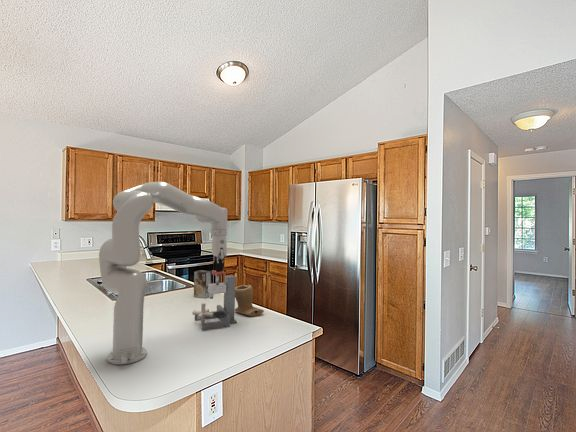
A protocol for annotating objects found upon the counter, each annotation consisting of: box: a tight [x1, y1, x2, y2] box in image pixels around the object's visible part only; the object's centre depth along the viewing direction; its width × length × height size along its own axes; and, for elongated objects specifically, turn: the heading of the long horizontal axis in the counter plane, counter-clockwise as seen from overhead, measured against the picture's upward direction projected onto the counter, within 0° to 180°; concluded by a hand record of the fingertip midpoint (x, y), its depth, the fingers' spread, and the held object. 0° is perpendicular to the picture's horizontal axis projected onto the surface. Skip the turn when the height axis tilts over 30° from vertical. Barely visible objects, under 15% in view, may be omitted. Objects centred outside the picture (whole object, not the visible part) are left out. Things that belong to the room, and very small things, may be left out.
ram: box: [208, 269, 226, 300], centre depth 149 cm, size 6×7×13 cm
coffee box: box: [193, 269, 212, 299], centre depth 196 cm, size 9×6×16 cm
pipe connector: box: [192, 302, 214, 326], centre depth 146 cm, size 10×10×10 cm
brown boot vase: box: [235, 284, 265, 317], centre depth 164 cm, size 15×12×15 cm
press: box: [194, 274, 238, 332], centre depth 149 cm, size 16×17×22 cm
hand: (218, 270), depth 149 cm, fingers open, 4 cm apart
